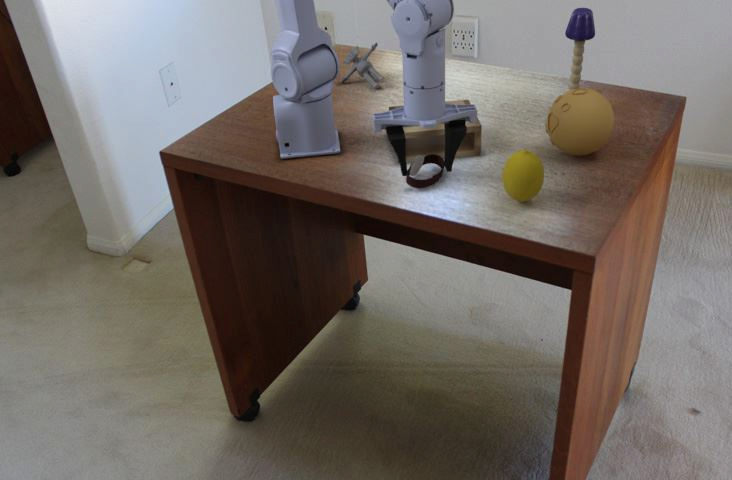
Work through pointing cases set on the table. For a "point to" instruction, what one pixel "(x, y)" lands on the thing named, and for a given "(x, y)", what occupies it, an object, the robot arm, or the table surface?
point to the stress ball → (580, 121)
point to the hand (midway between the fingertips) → (425, 170)
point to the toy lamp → (579, 40)
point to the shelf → (440, 139)
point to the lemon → (523, 175)
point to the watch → (417, 165)
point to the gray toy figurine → (362, 66)
